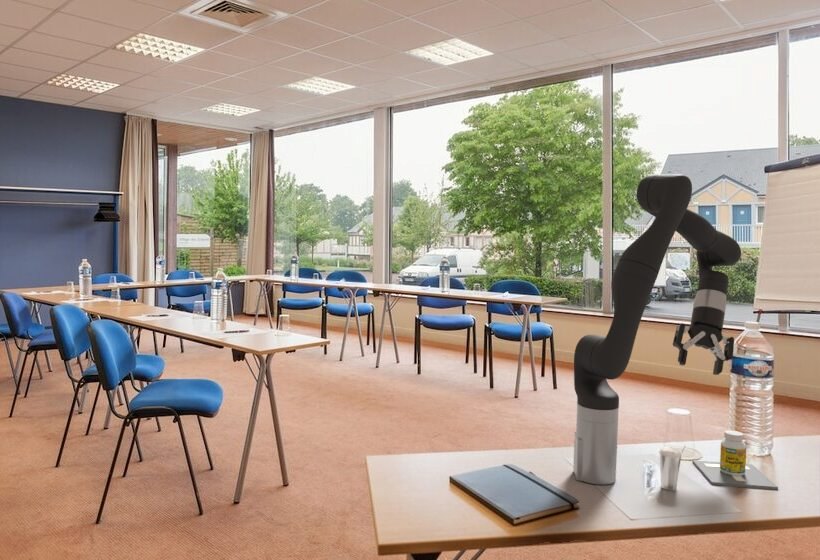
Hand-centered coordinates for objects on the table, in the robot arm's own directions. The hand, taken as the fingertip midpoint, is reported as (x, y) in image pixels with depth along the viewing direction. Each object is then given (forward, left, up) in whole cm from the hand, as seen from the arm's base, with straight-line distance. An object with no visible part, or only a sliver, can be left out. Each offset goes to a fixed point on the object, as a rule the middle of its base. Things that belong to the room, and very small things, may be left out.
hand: (699, 369), depth 151 cm
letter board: (+6, -10, -23) cm, 26 cm away
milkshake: (-11, -21, -23) cm, 33 cm away
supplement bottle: (+5, -10, -23) cm, 25 cm away
